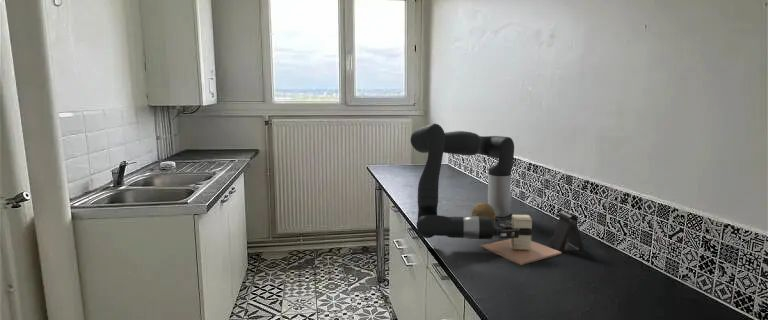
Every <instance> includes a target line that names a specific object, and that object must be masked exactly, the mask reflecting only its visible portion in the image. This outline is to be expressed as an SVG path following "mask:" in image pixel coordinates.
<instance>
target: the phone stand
mask: <svg viewBox="0 0 768 320" xmlns="http://www.w3.org/2000/svg"><path fill="white" fill-rule="evenodd" d="M558 217H559V218H558V222H557V224H556V227H555V229H554V232H553V235H552V238H551V239H550V243H549V246H550V248H552V249H555V250H557V251H560V252H562V253H564V252H575V251H577V252H578V251H584V250H585V248H584V247H585V246H584V244H583V241H582V237H581V233H580V230H579V228H578V227H579V226H578V217H577V216H576V215H574V214H572V213H570V212H569V211H566V210H564V211H563V210H561V211H560V212H559V214H558ZM567 241H568V243H567Z"/></svg>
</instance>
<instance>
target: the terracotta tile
mask: <svg viewBox="0 0 768 320" xmlns="http://www.w3.org/2000/svg"><path fill="white" fill-rule="evenodd" d="M480 247H481V248H482V249H484V250H487V251H489V252H492V253H493V254H495V255H498V256H501V257H502V258H505V259H507V260H509V261H511V262H513V263H516V264H518V265H521V266H522V265H526V264H529V263H533V262H537V261H540V260H543V259H549V258H551V257H555V256H559V255H562V253H563V252H560V251H557V250H556V249H554V248H553V247H549V246H546V245H544V244H541V243H539V242H536V241H533V240H531V250H530V249H513V247H512V245H511V238H506V239H503V240H499V241H494V242H490V243H486V244H485V243H484V244H481V245H480Z"/></svg>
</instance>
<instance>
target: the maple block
mask: <svg viewBox="0 0 768 320" xmlns="http://www.w3.org/2000/svg"><path fill="white" fill-rule="evenodd" d="M511 220H512V226H513V227H514V228H531V230H533V229H532V228H533V219H532V218H531V216H530V215H529V214H511ZM512 233H515V232H512ZM510 239H511V245H512V247H513V249H530V250H531V241H532V234H531V235H519V236H518V238H510Z"/></svg>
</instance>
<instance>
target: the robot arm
mask: <svg viewBox="0 0 768 320" xmlns="http://www.w3.org/2000/svg"><path fill="white" fill-rule="evenodd" d="M410 144H411V146H412V147H413V149H415V151H417V152H419V153H421V154H427V159H426V162H425V166H424V169H423V170H422V173H421V176H420V178H419V181H418V185H417V186H418V187H417V209H418V210H417V222H416V230H417V232H418V234H419V235H420V237H422V238H425V239H432V238H433V237H434V236H436V237H437V236H438V237H440V236H441V237H442V236H445V237H448V238H452V239H457V238H458V239H467V240H489V241H490V240H491V239H493V235H497V236H499V239H503V240H504V239H511V238H518V236H519V235H531V236H532V234H533V233H532V230H533V229H532V230H531V228H514V227H513V226H512V219H502V217H503V218H506V217H508V216H510V215H513V214H512V211H513V210H512V209H513V207H512V206H513V191H511V190H512V189H511V187H512V186H511V185H512V184H511V183H512V170H513V167H514V166H513V165H514V157H515V143H514V141H513V139H512V138H511V137H509V136H503V135H502V136H501V135H487V136H485V135H484V136H482V135H479V134H477V133H475V132H471V131H464V130H455V131H448V132H445V130H444V128H443V127H442V126H441V125H440V124H438V123H430V124H427V125H424V126H422V127H419V128H417V129H415V130H414V131H413V132H412V134H411V135H410ZM444 153H445V154H449V155H450V154H451V155H459V156H469V157H470V156H475V155H482V156H487V157H489V158H494V159H498V161H497V164H496V165H491V166H489V167H488V174H487V175H488V178H487V181H488V182H487V183H488V184H487V185H488V186H487V203H488V204H489V205H491V206H492V208H493V210H494V213H495V215H496V217H497V218H496V219H495V221H494V222H492V218H491V217H485V216H470V215H469V216H445V215H440V214H439V215H438V205H439V185H440V184H439V183H440V182H439V180H440V173H441V167H442V163H443V155H444ZM498 217H499V218H498ZM512 232H515V233H512Z"/></svg>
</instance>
